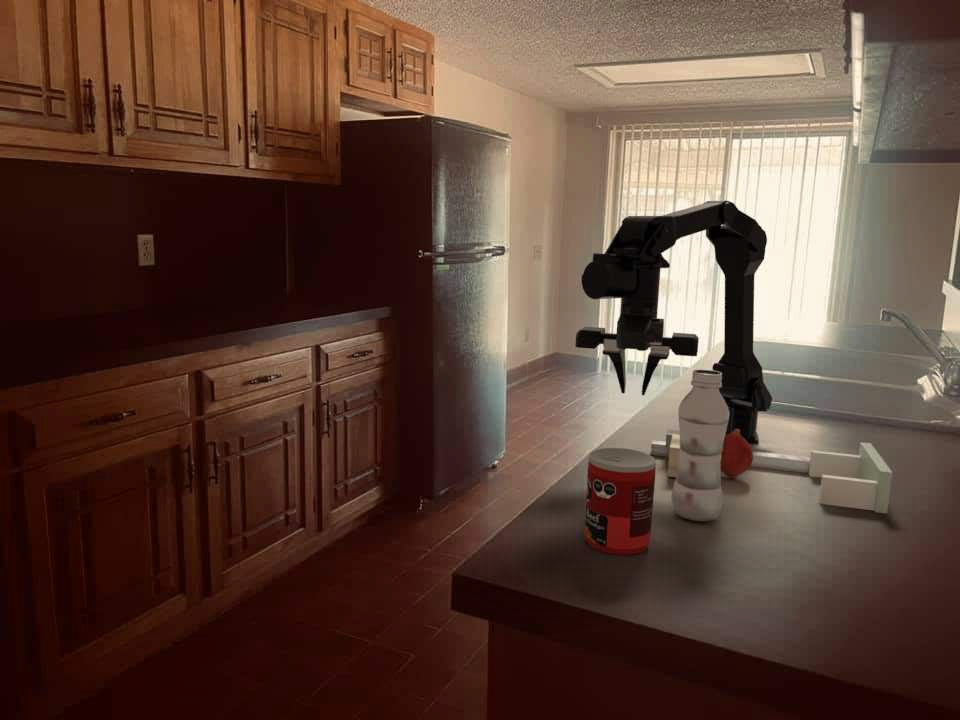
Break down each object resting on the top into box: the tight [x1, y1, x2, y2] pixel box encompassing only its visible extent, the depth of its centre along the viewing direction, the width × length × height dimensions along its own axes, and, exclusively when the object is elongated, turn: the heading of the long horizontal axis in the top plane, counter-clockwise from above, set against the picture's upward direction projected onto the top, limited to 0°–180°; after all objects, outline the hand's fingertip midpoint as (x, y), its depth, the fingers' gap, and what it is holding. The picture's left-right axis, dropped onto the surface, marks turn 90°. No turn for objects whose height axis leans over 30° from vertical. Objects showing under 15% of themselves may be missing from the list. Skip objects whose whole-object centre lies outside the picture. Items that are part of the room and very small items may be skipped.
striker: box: [665, 425, 680, 478], centre depth 119 cm, size 14×5×5 cm, turn 162°
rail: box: [650, 439, 810, 474], centre depth 122 cm, size 2×31×2 cm, turn 72°
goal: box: [807, 441, 893, 515], centre depth 109 cm, size 15×8×6 cm, turn 162°
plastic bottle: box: [671, 368, 729, 522], centre depth 96 cm, size 6×7×20 cm
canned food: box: [584, 447, 657, 556], centre depth 88 cm, size 8×8×11 cm
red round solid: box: [721, 429, 754, 479], centre depth 114 cm, size 6×6×8 cm
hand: (633, 393), depth 117 cm, fingers open, 3 cm apart
